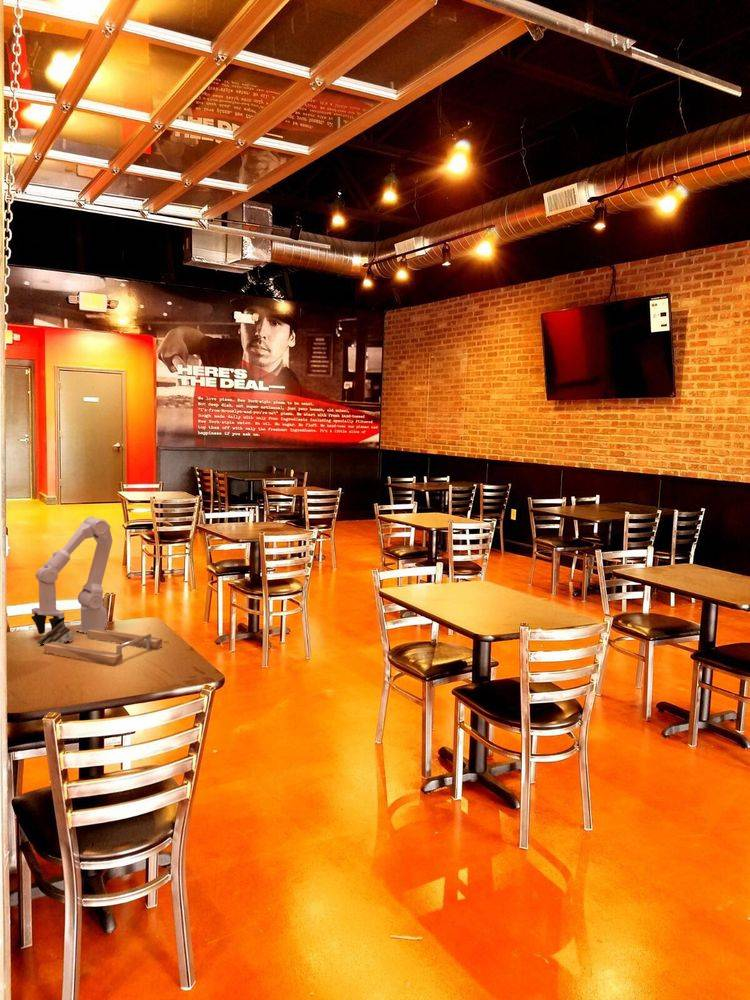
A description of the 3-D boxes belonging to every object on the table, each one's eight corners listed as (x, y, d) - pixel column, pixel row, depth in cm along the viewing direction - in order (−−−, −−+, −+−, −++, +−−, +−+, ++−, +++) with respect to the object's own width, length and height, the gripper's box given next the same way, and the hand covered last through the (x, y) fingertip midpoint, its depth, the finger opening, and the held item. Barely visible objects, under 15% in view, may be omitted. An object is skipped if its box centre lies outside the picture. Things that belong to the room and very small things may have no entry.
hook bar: (149, 648, 266) (148, 633, 266) (151, 649, 266) (151, 634, 265) (116, 661, 252) (116, 645, 251) (119, 662, 251) (119, 646, 250)
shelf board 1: (52, 649, 264) (52, 641, 263) (122, 662, 250) (122, 654, 250) (43, 653, 260) (43, 644, 260) (113, 666, 247) (113, 657, 247)
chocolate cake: (49, 650, 264) (72, 623, 270) (36, 642, 267) (59, 615, 272) (61, 661, 272) (84, 634, 277) (48, 653, 274) (70, 627, 280)
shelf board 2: (95, 635, 282) (95, 627, 281) (162, 646, 269) (162, 638, 268) (87, 638, 278) (87, 630, 278) (154, 649, 265) (154, 641, 265)
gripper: (24, 599, 274) (25, 634, 276) (53, 603, 268) (54, 640, 270) (40, 595, 281) (41, 630, 282) (68, 599, 275) (69, 635, 276)
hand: (48, 634), depth 276 cm, fingers open, 7 cm apart
